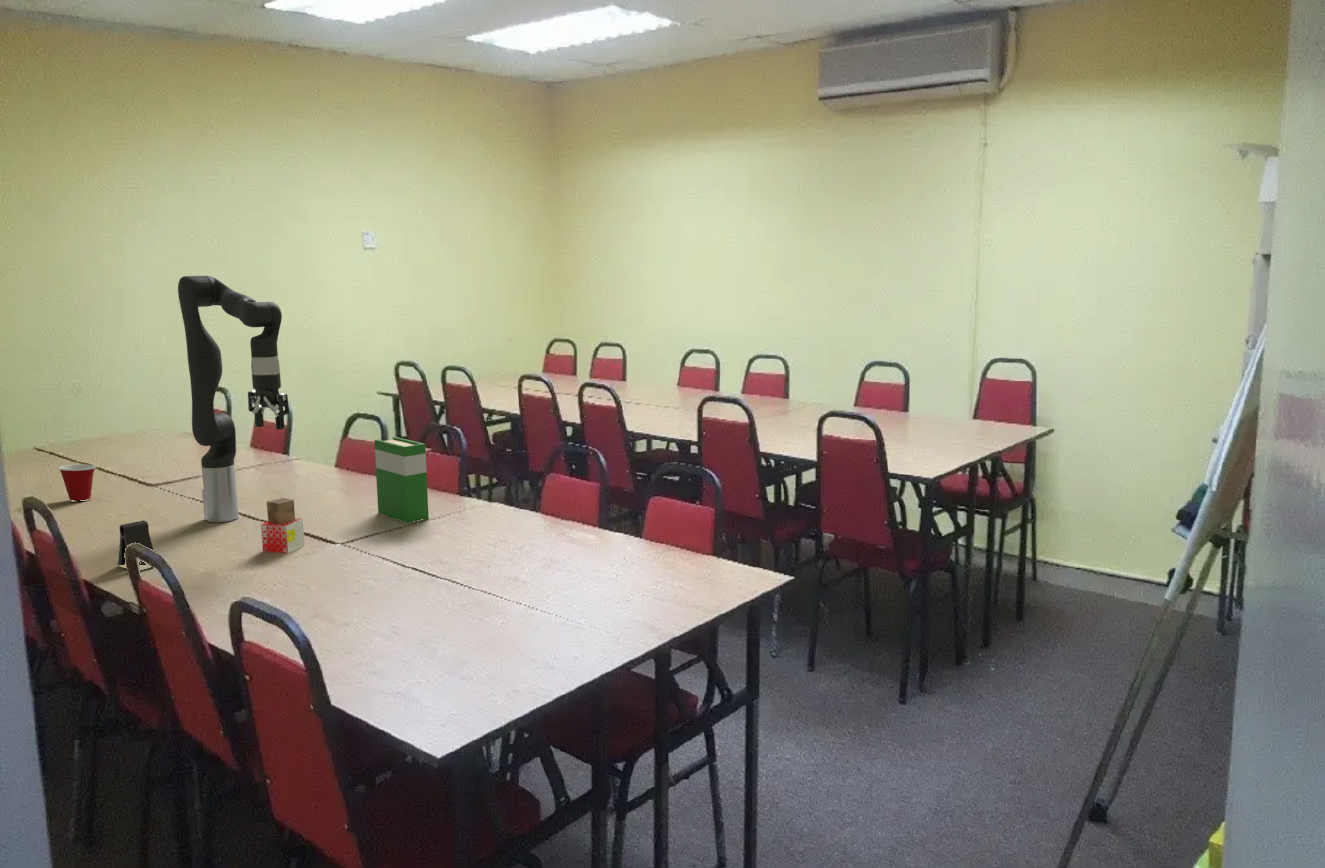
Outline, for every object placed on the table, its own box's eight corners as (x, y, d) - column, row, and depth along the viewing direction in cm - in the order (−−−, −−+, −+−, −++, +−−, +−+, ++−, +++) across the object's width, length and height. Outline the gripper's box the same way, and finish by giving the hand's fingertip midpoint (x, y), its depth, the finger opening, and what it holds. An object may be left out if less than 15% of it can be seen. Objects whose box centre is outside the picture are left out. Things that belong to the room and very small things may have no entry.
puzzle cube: (288, 553, 260) (286, 525, 259) (262, 551, 262) (260, 524, 261) (304, 545, 268) (302, 518, 267) (279, 543, 270) (277, 516, 268)
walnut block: (268, 522, 263) (266, 501, 262) (283, 518, 267) (281, 497, 266) (280, 524, 260) (278, 503, 259) (295, 520, 265) (293, 499, 263)
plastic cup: (106, 499, 320) (102, 464, 318) (72, 505, 311) (68, 470, 309) (89, 495, 326) (85, 461, 324) (56, 501, 317) (52, 466, 315)
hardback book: (378, 513, 303) (374, 439, 298) (398, 508, 308) (395, 436, 304) (407, 523, 291) (404, 447, 286) (428, 518, 296) (425, 443, 292)
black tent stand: (157, 567, 248) (153, 523, 246) (133, 573, 243) (129, 528, 241) (141, 560, 254) (137, 517, 251) (118, 566, 249) (113, 522, 247)
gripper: (237, 372, 269) (242, 428, 272) (272, 374, 263) (276, 432, 265) (260, 369, 276) (264, 424, 279) (293, 372, 269) (297, 428, 272)
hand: (270, 428), depth 272 cm, fingers open, 8 cm apart
